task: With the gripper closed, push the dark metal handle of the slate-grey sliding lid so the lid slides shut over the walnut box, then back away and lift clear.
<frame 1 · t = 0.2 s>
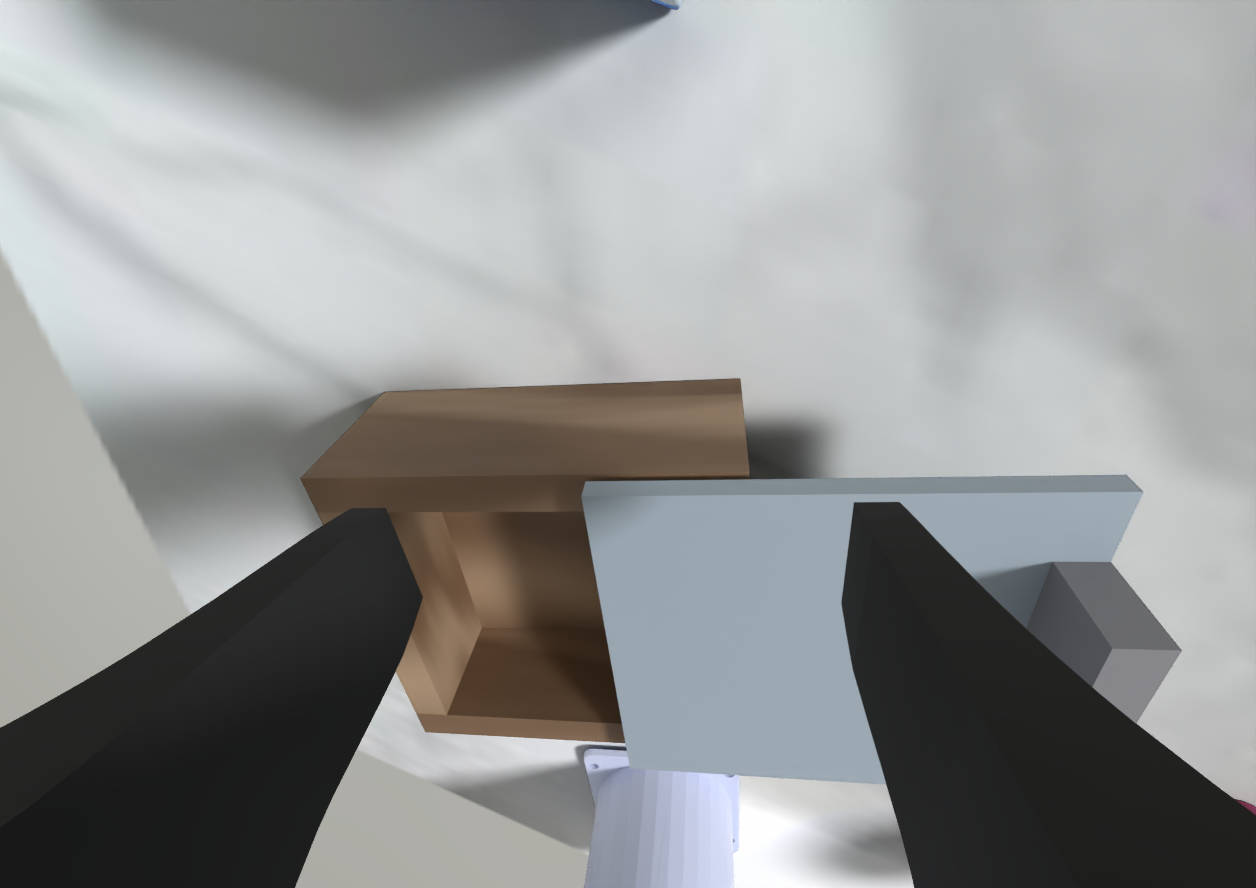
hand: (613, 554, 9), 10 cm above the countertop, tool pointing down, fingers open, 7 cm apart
walnut box: (580, 525, 22), on the countertop
lid: (827, 694, 16), point 7 cm above the countertop, slide at 8.0 cm
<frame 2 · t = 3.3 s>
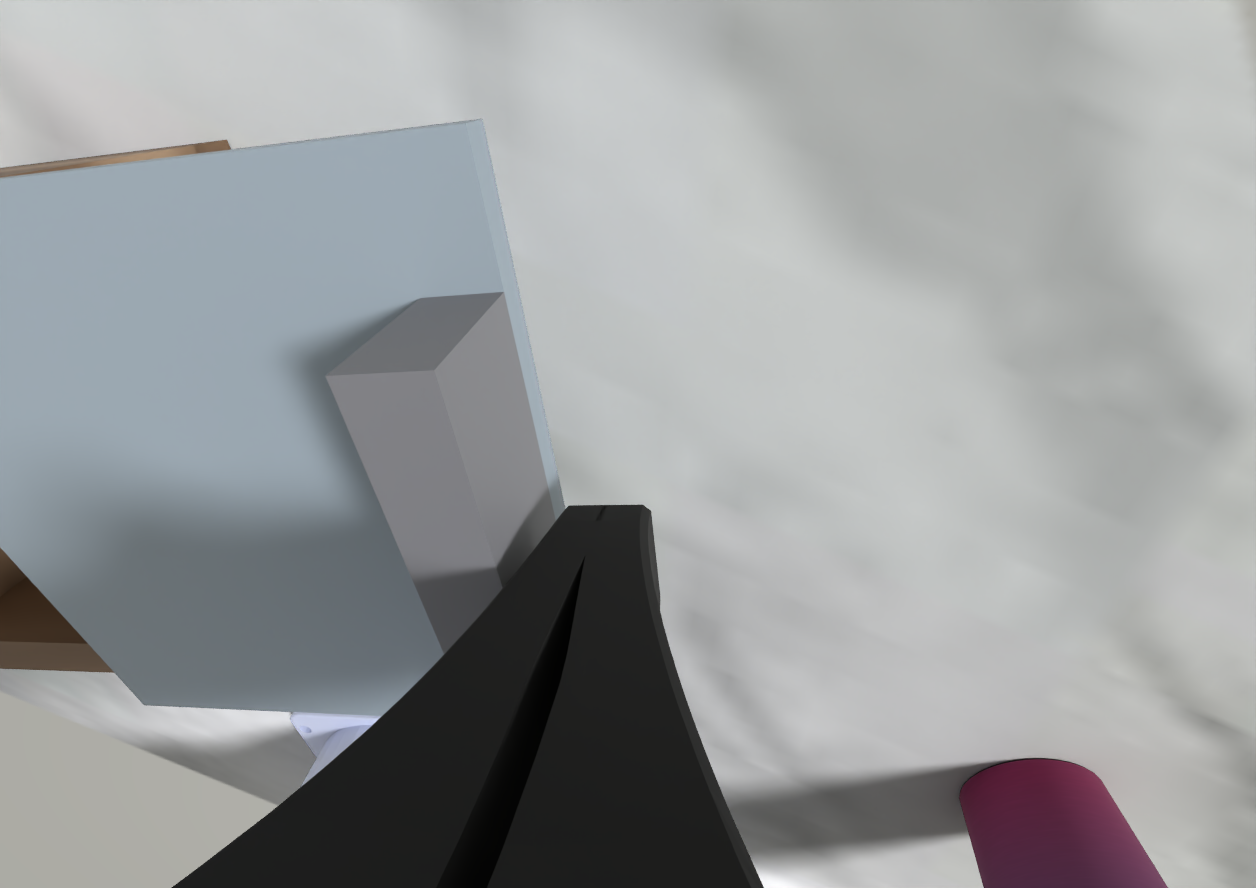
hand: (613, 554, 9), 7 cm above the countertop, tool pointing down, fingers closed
walnut box: (142, 393, 17), on the countertop
lid: (209, 558, 10), point 7 cm above the countertop, slide at 7.7 cm, touching gripper
cup: (1026, 788, 23), on the countertop
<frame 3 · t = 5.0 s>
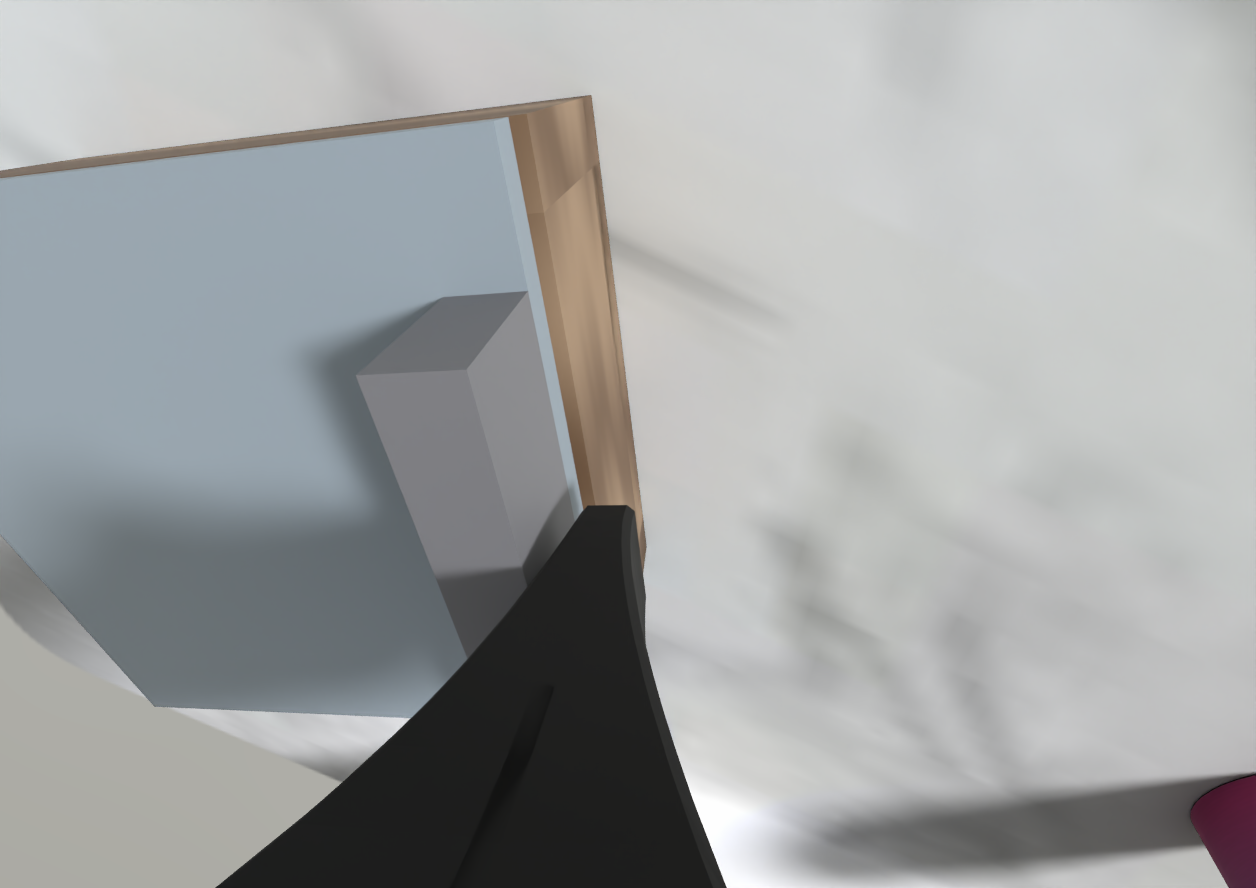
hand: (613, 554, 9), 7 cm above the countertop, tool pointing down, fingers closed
walnut box: (404, 380, 16), on the countertop
lid: (226, 558, 10), point 7 cm above the countertop, slide at -0.2 cm, touching gripper
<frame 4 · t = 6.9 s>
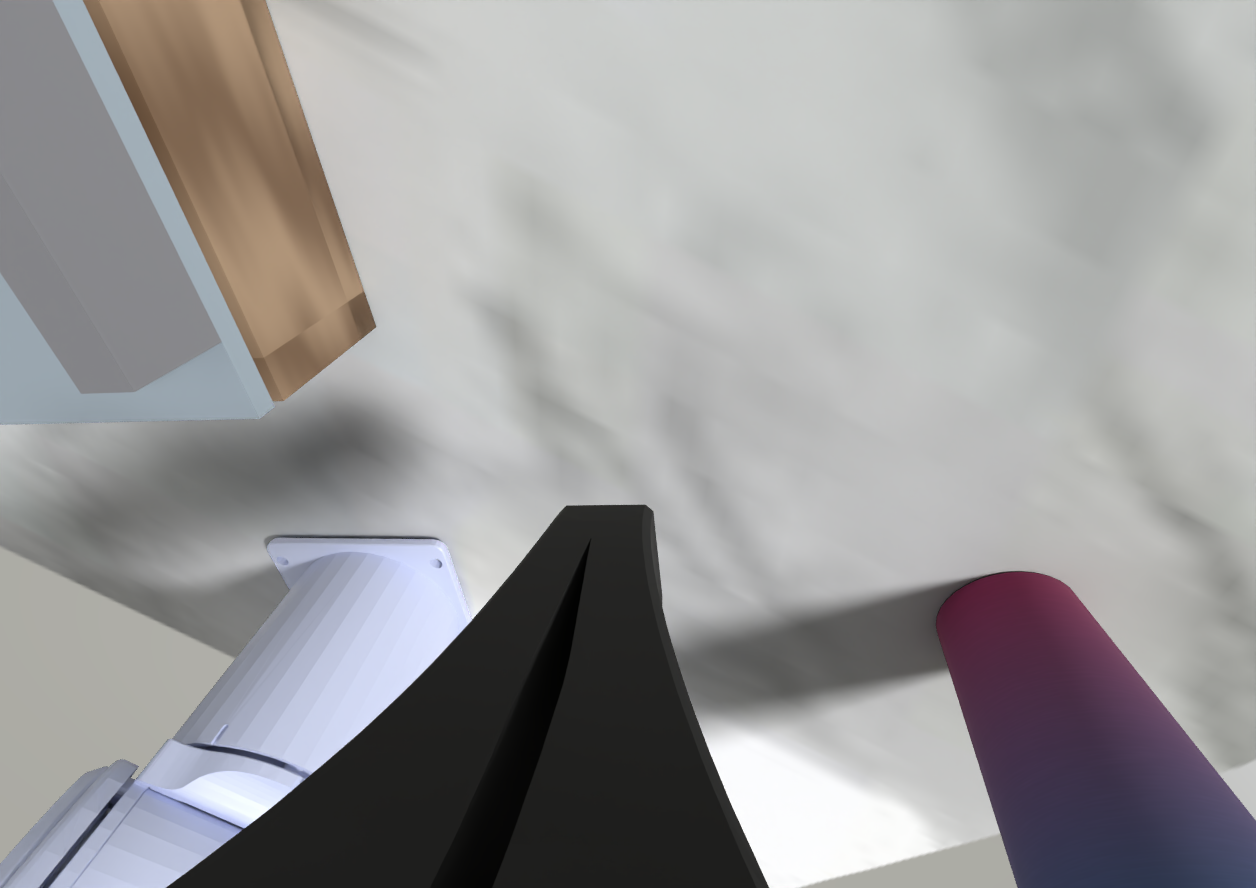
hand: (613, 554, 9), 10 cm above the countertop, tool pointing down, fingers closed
walnut box: (115, 138, 17), on the countertop
cup: (1002, 613, 23), on the countertop
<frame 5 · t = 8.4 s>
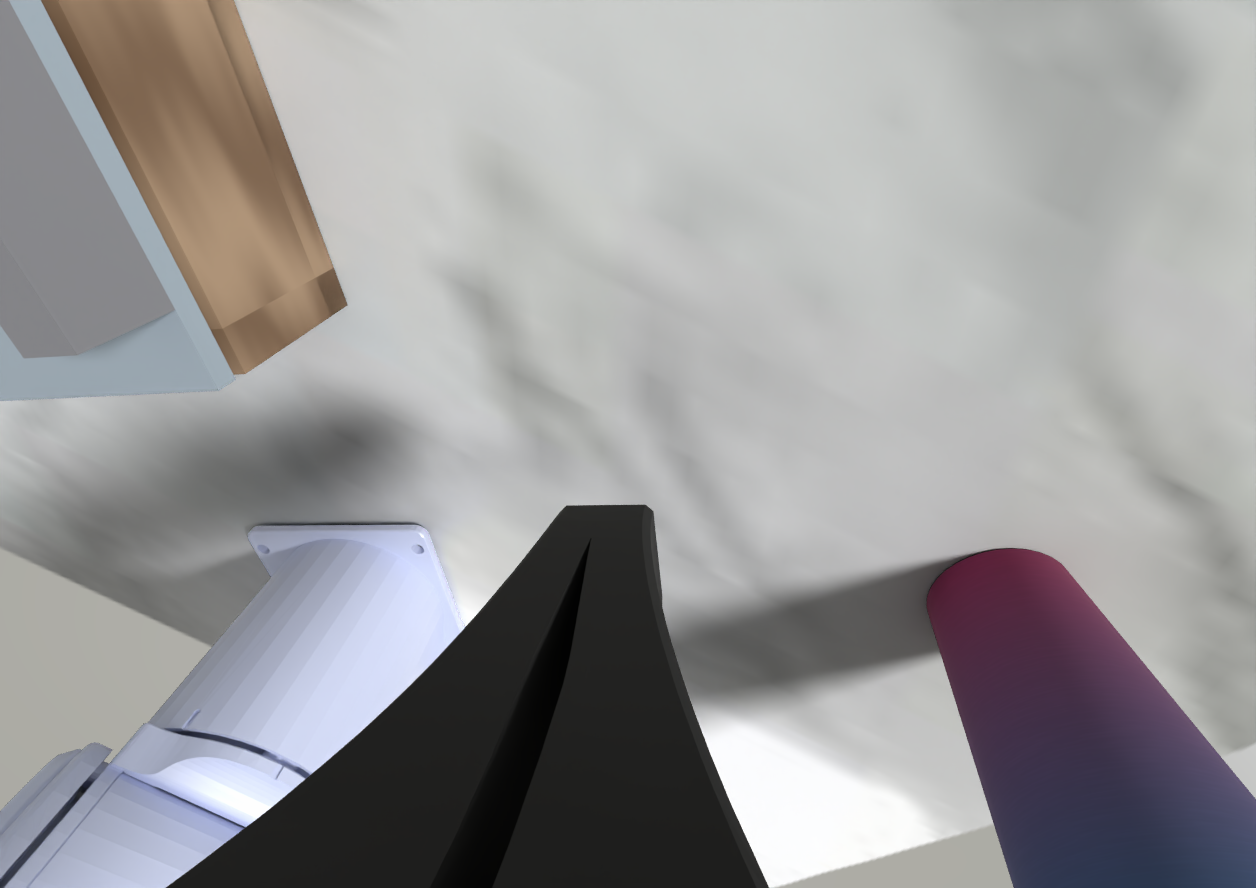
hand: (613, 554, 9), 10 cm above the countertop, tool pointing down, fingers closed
walnut box: (76, 113, 17), on the countertop
cup: (994, 592, 23), on the countertop
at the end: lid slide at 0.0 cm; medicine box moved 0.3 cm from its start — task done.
